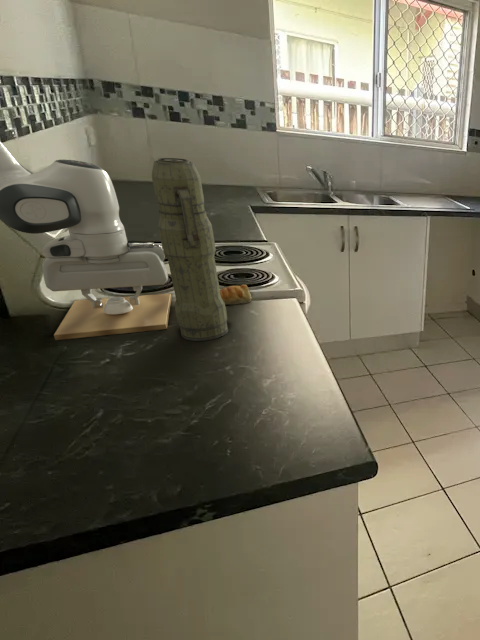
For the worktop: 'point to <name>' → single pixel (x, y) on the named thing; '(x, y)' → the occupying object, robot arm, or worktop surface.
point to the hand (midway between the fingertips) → (117, 306)
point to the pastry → (235, 295)
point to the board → (115, 318)
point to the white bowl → (117, 306)
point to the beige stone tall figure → (189, 249)
